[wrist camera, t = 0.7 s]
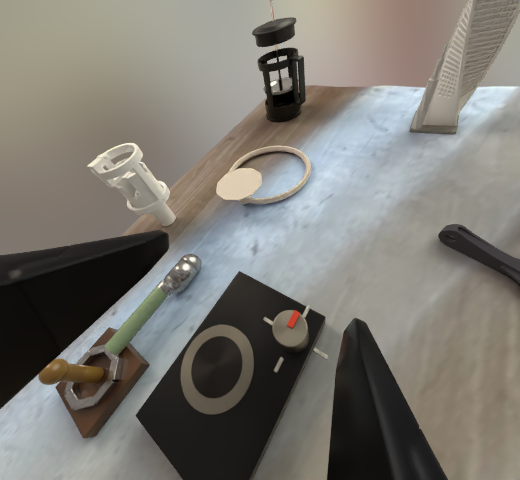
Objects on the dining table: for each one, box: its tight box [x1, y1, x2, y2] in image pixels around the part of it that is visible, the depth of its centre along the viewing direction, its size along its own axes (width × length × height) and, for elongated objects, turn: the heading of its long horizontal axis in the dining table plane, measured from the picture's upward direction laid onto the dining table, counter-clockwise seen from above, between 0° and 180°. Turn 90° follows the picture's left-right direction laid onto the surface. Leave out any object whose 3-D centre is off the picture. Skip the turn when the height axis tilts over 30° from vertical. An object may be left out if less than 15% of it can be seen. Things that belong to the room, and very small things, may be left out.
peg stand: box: [39, 327, 149, 438], centre depth 23 cm, size 8×8×8 cm
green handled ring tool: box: [64, 254, 201, 411], centre depth 28 cm, size 21×6×4 cm, turn 147°
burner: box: [181, 325, 254, 414], centre depth 22 cm, size 8×8×1 cm
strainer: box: [88, 143, 176, 226], centre depth 35 cm, size 7×7×15 cm
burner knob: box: [272, 310, 309, 354], centre depth 21 cm, size 3×3×4 cm
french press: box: [252, 0, 305, 122], centre depth 47 cm, size 12×9×23 cm
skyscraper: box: [410, 0, 520, 134], centre depth 30 cm, size 8×8×28 cm
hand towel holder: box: [216, 146, 311, 205], centre depth 40 cm, size 17×4×21 cm
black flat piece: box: [438, 224, 520, 284], centre depth 23 cm, size 14×15×3 cm
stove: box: [136, 271, 328, 480], centre depth 23 cm, size 18×14×3 cm
